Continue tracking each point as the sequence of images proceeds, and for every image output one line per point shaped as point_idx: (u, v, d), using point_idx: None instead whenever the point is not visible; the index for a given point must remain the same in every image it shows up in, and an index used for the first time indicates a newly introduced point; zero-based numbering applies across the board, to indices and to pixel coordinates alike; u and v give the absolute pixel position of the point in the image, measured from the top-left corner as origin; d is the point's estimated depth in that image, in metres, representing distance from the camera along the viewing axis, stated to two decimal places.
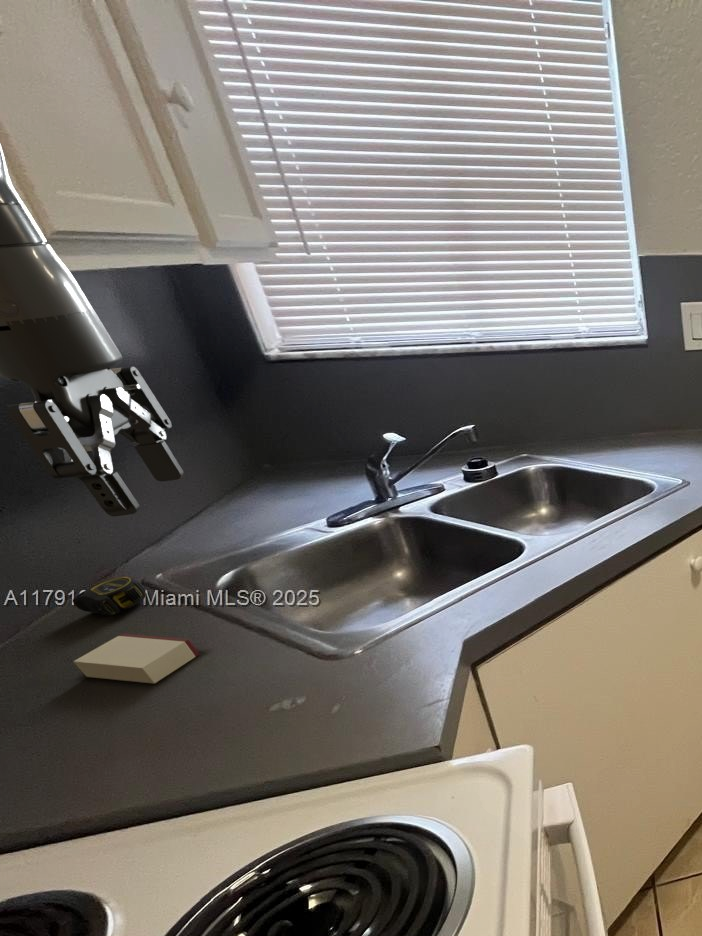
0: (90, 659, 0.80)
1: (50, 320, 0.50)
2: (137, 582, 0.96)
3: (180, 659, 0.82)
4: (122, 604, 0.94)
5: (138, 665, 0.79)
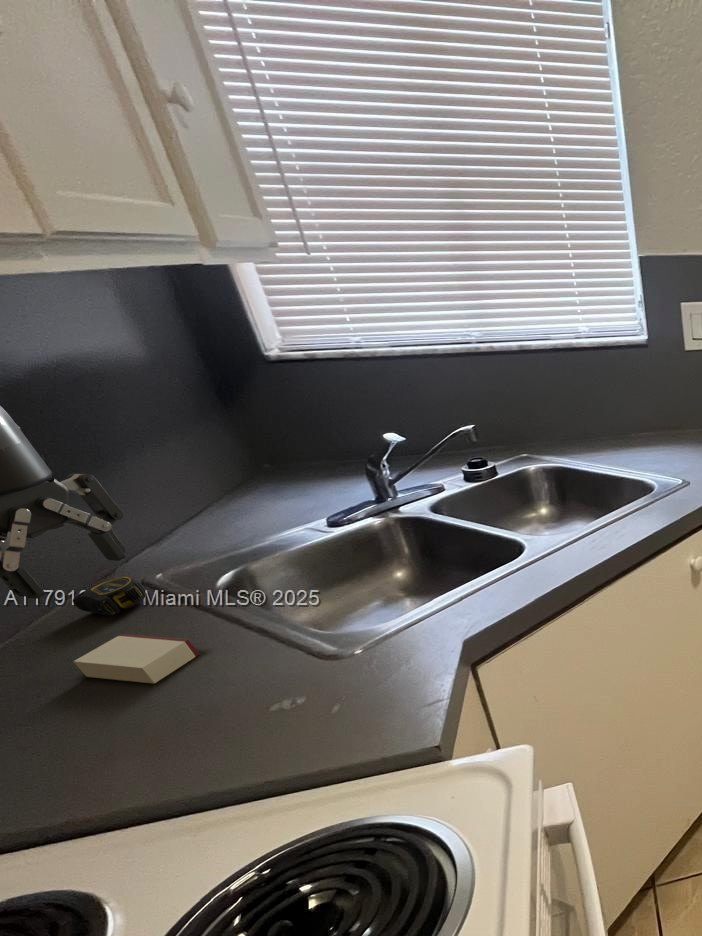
0: (90, 659, 0.80)
1: None
2: (137, 582, 0.96)
3: (180, 659, 0.82)
4: (122, 604, 0.94)
5: (138, 665, 0.79)
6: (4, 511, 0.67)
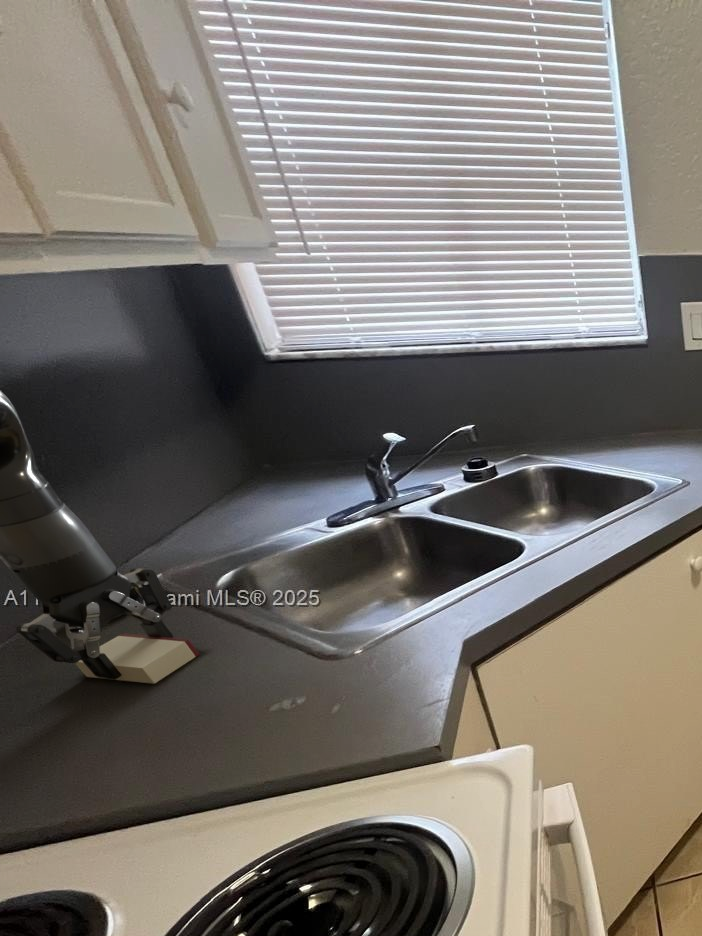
0: None
1: (43, 566, 0.71)
2: None
3: (180, 659, 0.82)
4: None
5: (138, 665, 0.79)
6: (76, 607, 0.75)
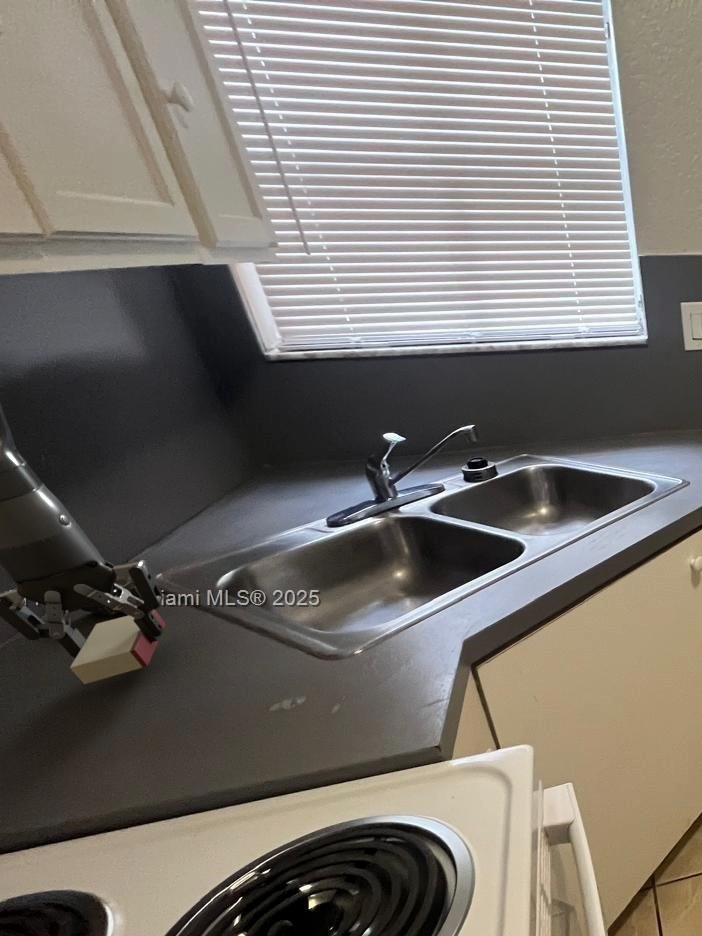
0: (97, 629, 0.81)
1: None
2: None
3: (120, 667, 0.77)
4: None
5: (76, 662, 0.75)
6: (41, 591, 0.73)
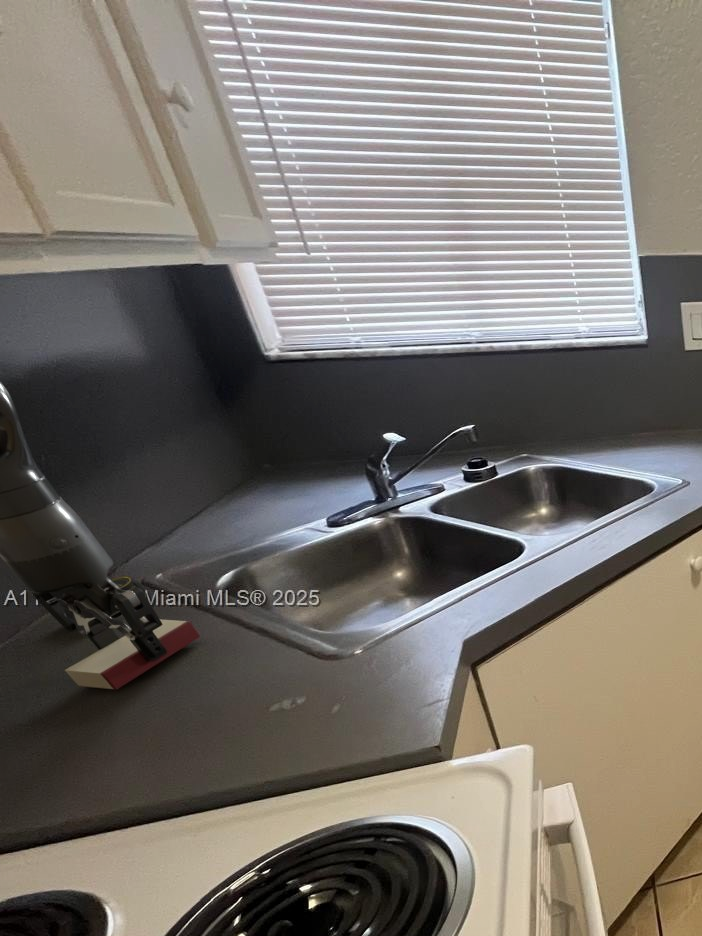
0: None
1: None
2: (137, 582, 0.96)
3: (98, 683, 0.78)
4: None
5: (75, 665, 0.78)
6: (62, 595, 0.76)
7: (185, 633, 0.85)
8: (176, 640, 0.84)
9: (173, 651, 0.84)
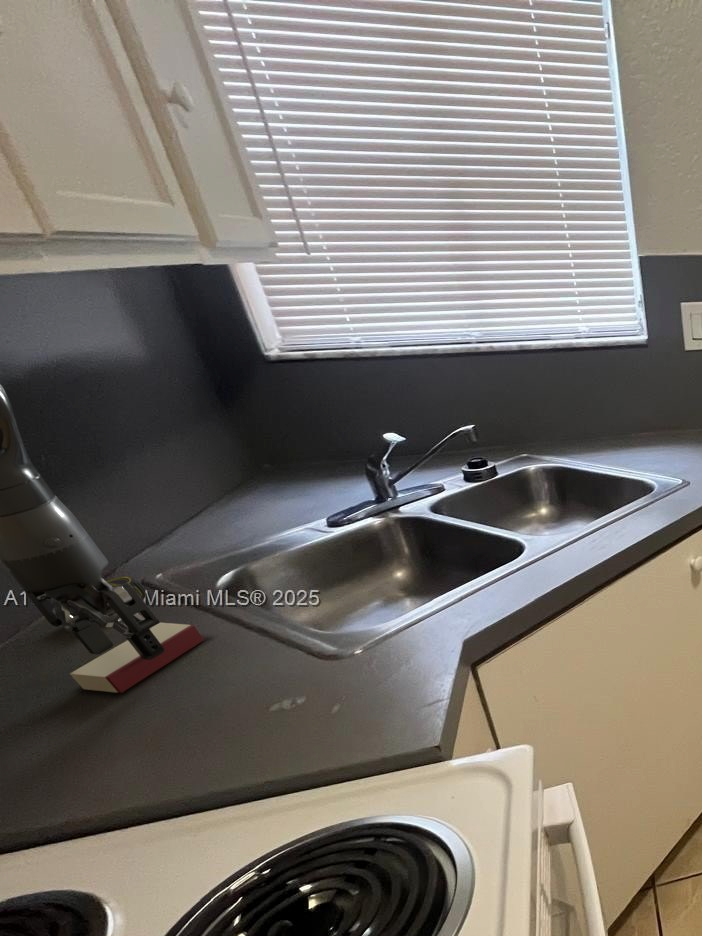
0: None
1: None
2: (137, 582, 0.96)
3: (102, 686, 0.78)
4: None
5: (80, 668, 0.79)
6: (55, 594, 0.75)
7: (189, 637, 0.85)
8: (180, 644, 0.84)
9: (177, 655, 0.84)
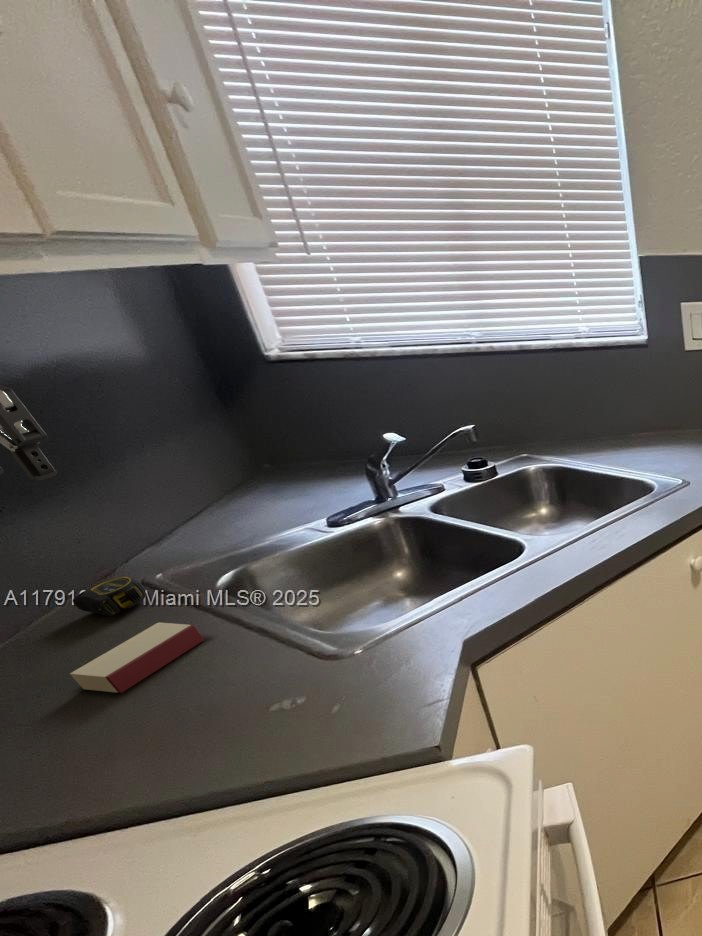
0: (147, 631, 0.85)
1: None
2: (137, 582, 0.96)
3: (102, 686, 0.78)
4: (122, 604, 0.94)
5: (80, 668, 0.79)
6: None
7: (189, 637, 0.85)
8: (180, 644, 0.84)
9: (177, 655, 0.84)
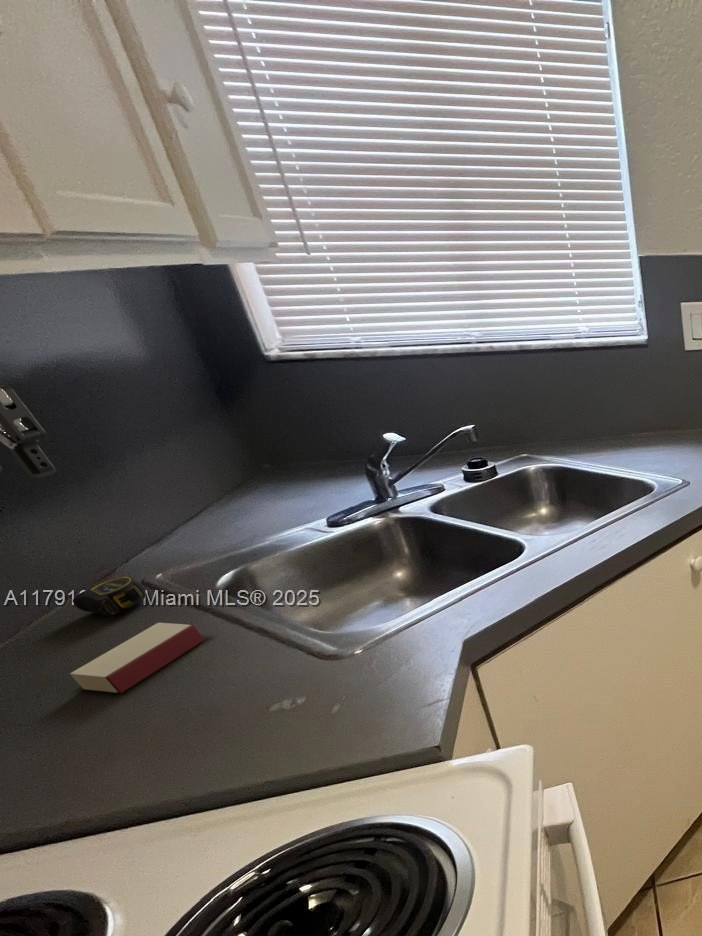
0: (147, 631, 0.85)
1: None
2: (137, 582, 0.96)
3: (102, 686, 0.78)
4: (122, 604, 0.94)
5: (80, 668, 0.79)
6: None
7: (189, 637, 0.85)
8: (180, 644, 0.84)
9: (177, 655, 0.84)
